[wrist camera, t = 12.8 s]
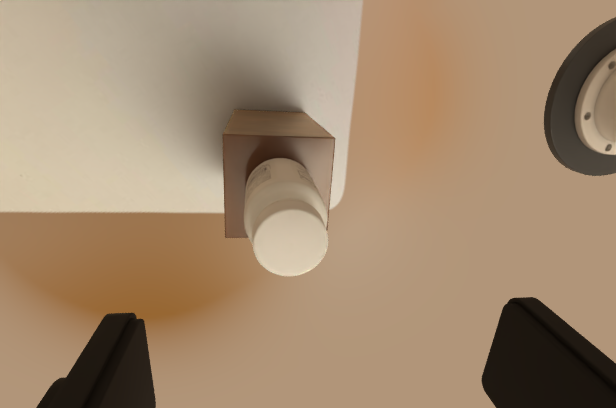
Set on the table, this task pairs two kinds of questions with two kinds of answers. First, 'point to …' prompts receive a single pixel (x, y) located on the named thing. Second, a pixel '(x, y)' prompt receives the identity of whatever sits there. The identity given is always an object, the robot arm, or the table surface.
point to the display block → (271, 155)
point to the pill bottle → (285, 217)
